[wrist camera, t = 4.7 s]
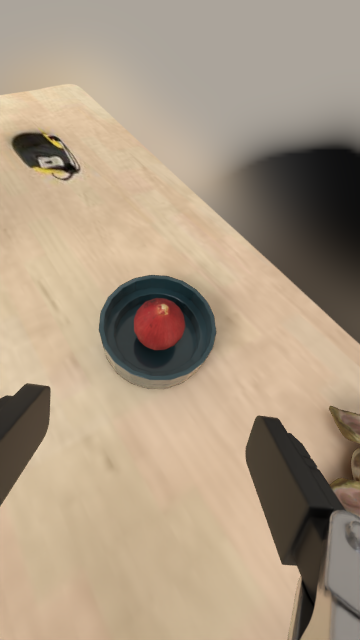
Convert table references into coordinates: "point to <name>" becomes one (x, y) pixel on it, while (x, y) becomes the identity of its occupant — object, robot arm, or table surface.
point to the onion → (159, 324)
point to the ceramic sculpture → (351, 493)
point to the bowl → (144, 362)
